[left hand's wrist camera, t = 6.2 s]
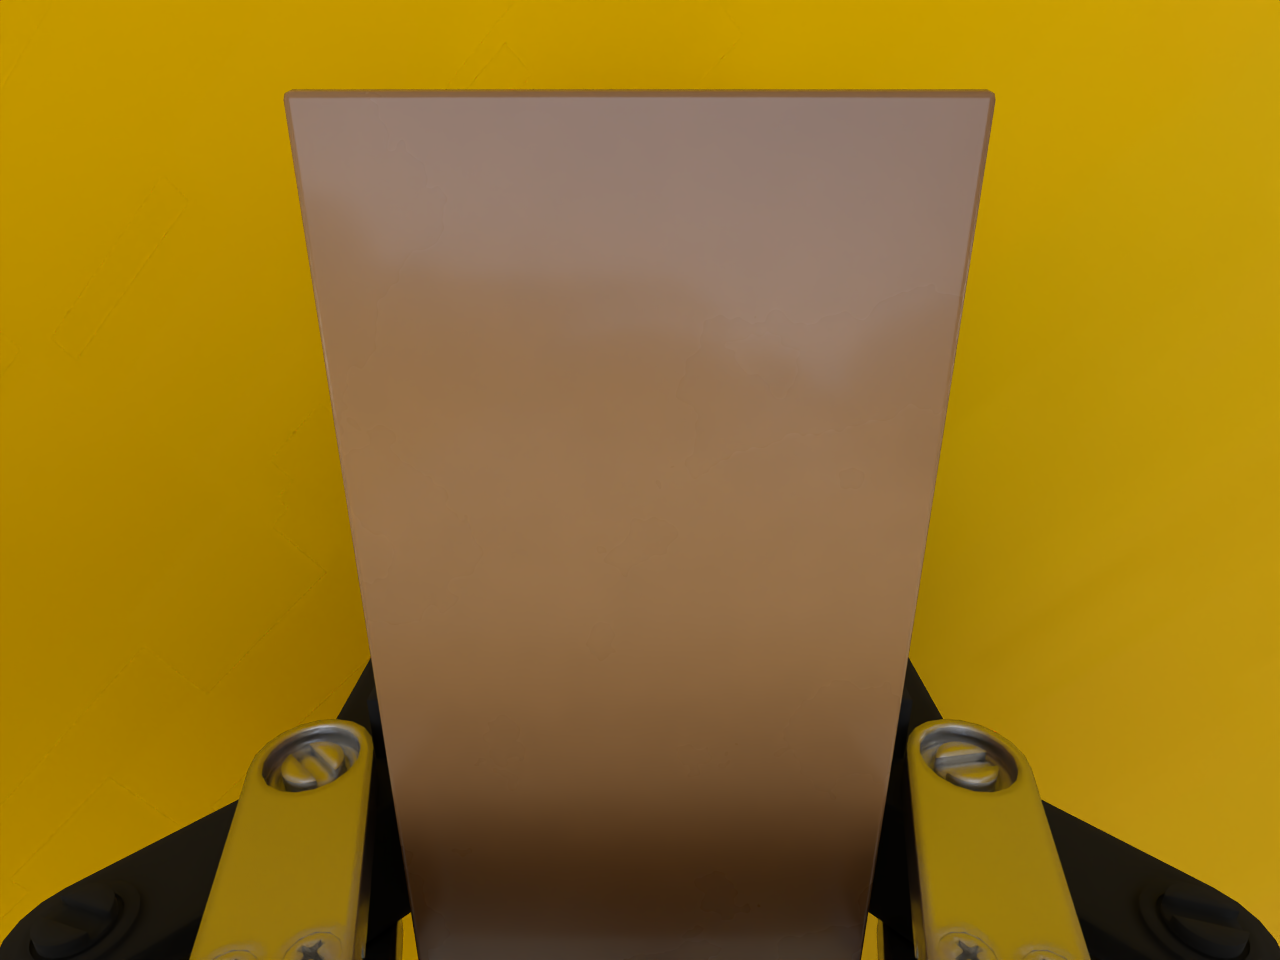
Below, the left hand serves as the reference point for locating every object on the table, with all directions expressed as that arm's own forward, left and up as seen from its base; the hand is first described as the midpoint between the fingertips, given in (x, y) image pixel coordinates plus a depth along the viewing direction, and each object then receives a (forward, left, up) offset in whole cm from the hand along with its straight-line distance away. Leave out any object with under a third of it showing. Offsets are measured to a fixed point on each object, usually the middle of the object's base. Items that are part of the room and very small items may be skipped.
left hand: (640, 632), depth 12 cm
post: (-14, -15, -2) cm, 21 cm away
